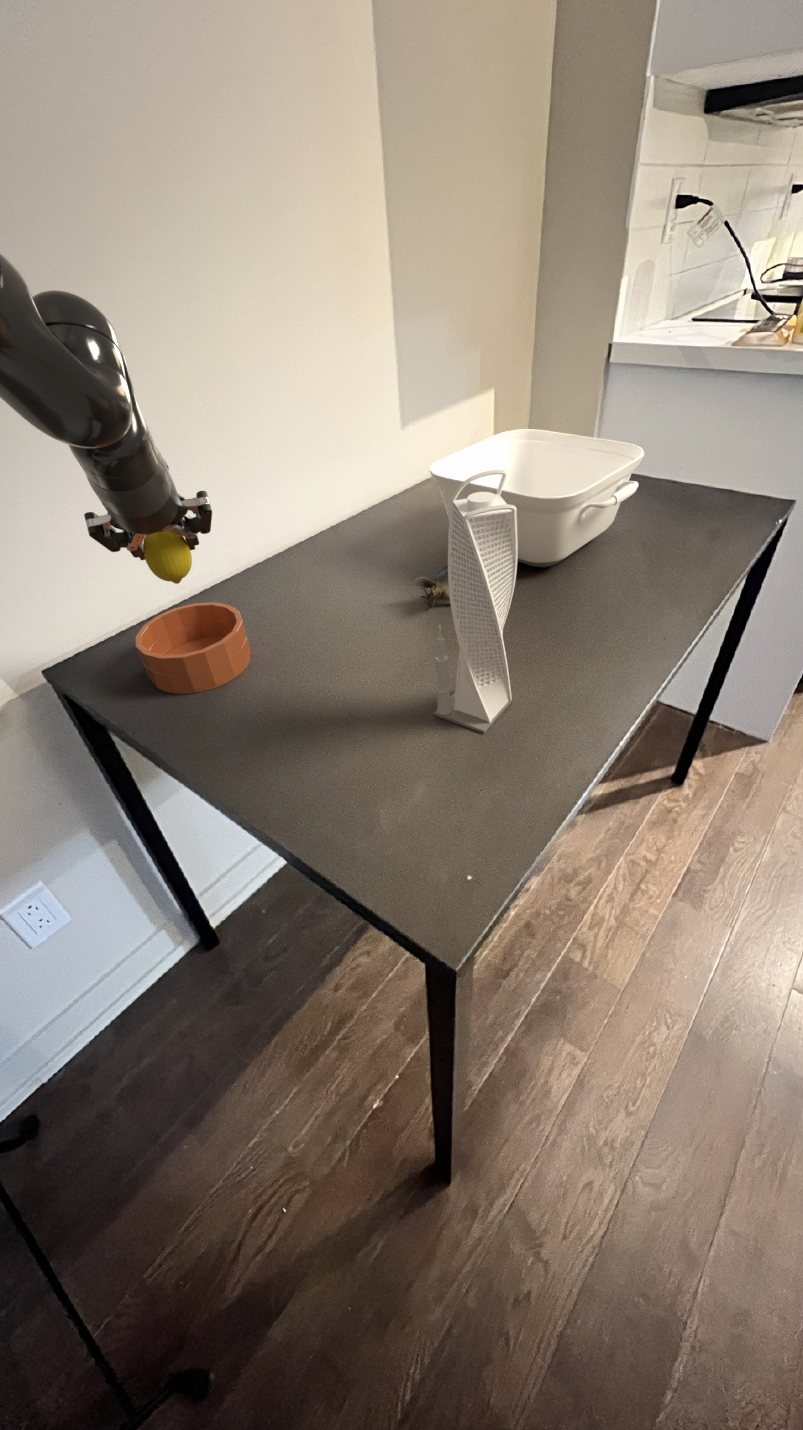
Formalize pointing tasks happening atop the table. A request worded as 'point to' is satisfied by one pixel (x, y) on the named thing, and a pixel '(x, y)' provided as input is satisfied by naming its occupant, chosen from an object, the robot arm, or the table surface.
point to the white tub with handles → (547, 486)
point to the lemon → (167, 556)
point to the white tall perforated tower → (478, 606)
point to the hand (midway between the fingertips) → (167, 547)
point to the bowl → (194, 647)
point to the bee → (435, 586)
